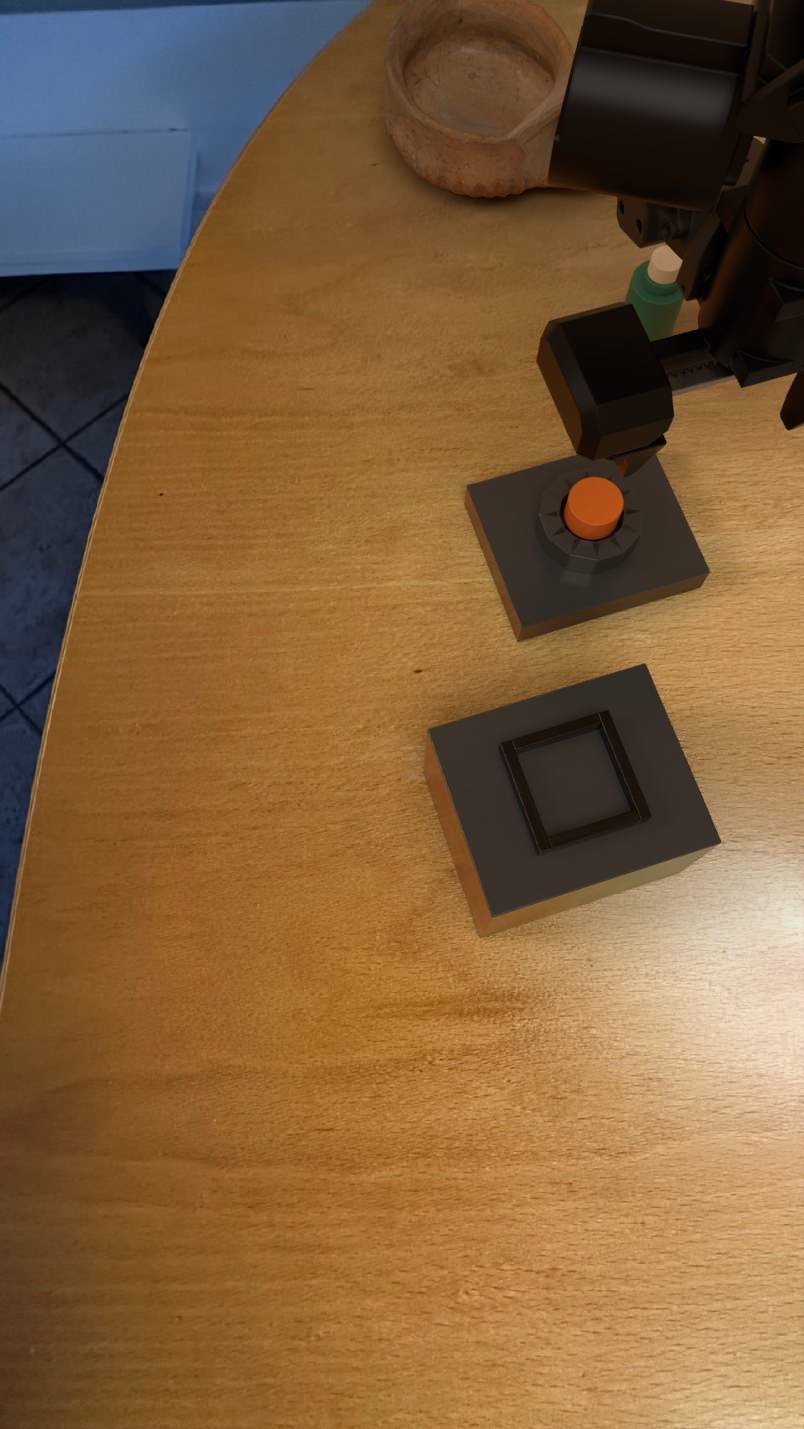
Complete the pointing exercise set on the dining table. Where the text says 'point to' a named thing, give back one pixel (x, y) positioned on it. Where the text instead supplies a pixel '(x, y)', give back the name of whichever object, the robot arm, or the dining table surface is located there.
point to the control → (581, 545)
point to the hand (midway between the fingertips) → (704, 445)
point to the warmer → (565, 799)
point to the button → (593, 508)
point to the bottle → (657, 293)
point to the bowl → (476, 92)
